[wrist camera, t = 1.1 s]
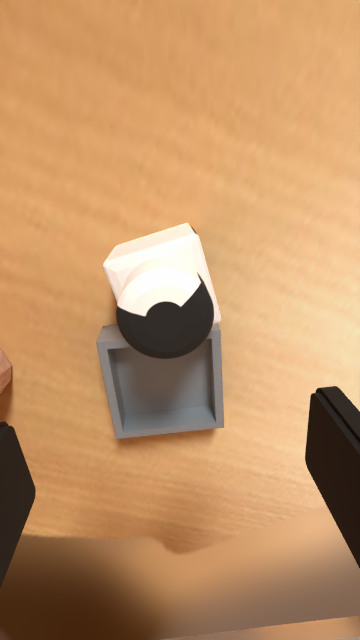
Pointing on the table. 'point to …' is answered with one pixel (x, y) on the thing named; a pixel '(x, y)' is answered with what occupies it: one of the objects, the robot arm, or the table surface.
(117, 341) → the bin
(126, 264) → the medicine bottle
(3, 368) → the vase
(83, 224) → the table surface
